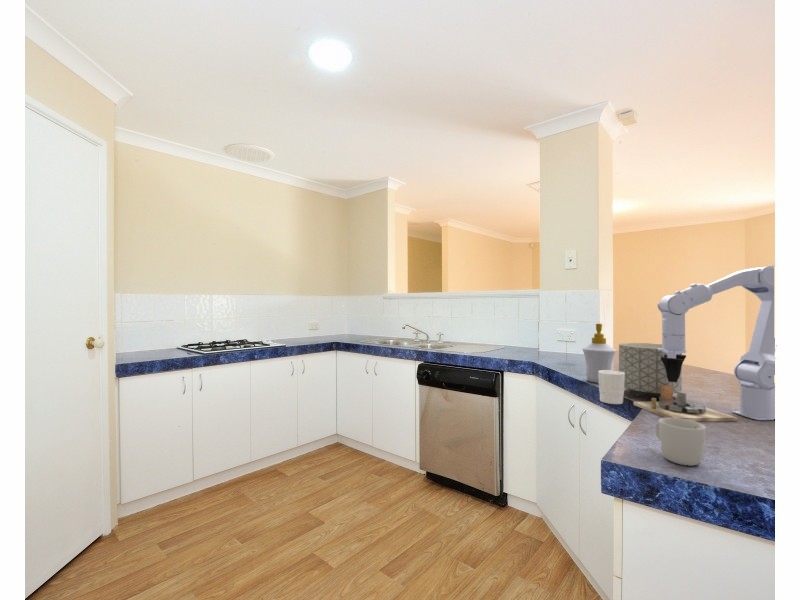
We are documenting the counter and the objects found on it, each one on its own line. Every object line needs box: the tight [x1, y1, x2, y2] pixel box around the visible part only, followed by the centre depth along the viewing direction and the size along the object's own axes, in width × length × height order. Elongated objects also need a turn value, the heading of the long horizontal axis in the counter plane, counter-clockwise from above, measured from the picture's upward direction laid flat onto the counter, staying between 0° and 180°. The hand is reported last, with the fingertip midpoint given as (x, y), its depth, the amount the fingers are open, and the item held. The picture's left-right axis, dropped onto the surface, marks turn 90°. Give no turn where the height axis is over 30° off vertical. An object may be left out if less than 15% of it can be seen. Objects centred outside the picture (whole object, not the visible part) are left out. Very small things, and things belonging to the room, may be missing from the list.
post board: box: [633, 391, 738, 422], centre depth 118 cm, size 18×18×6 cm
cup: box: [654, 417, 707, 467], centre depth 82 cm, size 11×8×8 cm
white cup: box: [598, 370, 625, 405], centre depth 130 cm, size 8×8×10 cm
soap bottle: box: [581, 323, 617, 384], centre depth 164 cm, size 13×13×25 cm
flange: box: [658, 385, 707, 413], centre depth 120 cm, size 15×11×5 cm
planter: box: [618, 342, 683, 400], centre depth 139 cm, size 19×19×18 cm
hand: (673, 379), depth 117 cm, fingers open, 7 cm apart
